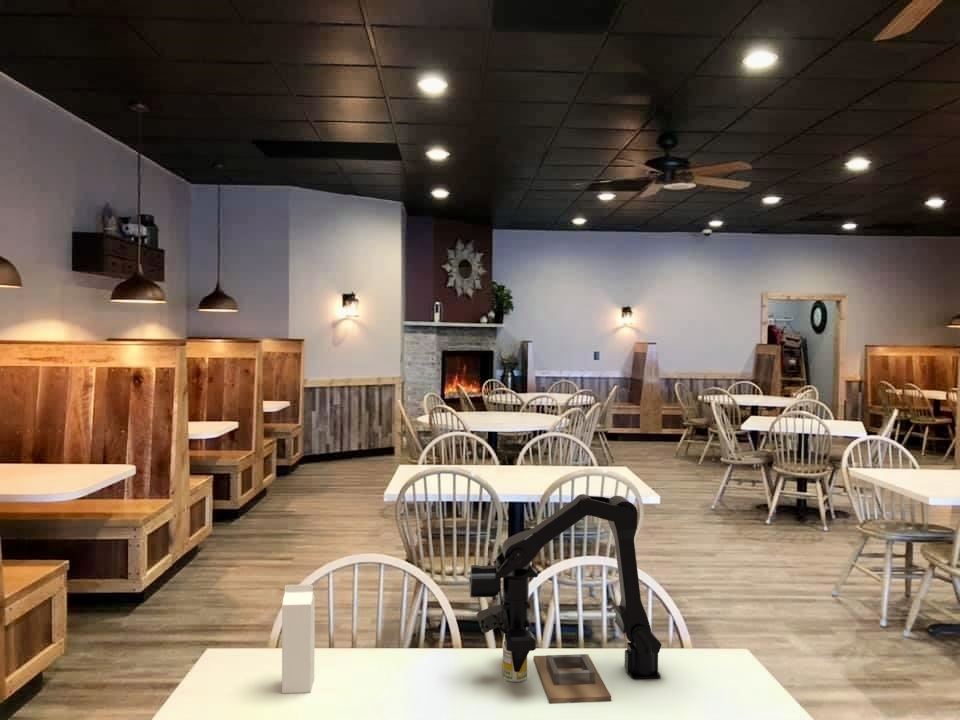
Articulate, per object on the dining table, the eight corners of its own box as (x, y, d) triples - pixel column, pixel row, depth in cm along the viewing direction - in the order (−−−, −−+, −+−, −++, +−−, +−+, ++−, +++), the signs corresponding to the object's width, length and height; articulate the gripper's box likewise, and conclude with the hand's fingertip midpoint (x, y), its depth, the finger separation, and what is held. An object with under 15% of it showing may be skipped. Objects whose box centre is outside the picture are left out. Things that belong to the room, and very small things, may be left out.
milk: (286, 680, 155) (286, 580, 155) (314, 679, 156) (314, 579, 155) (281, 694, 149) (281, 589, 149) (311, 693, 150) (311, 588, 149)
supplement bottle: (527, 672, 160) (527, 629, 160) (526, 683, 155) (527, 639, 154) (503, 670, 161) (503, 628, 160) (501, 682, 155) (502, 637, 155)
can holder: (588, 658, 167) (588, 643, 167) (611, 700, 147) (611, 684, 147) (533, 660, 166) (533, 645, 166) (549, 703, 146) (549, 686, 146)
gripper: (475, 582, 166) (475, 648, 166) (483, 612, 147) (482, 687, 148) (523, 581, 167) (522, 647, 167) (536, 611, 148) (535, 685, 149)
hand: (515, 665), depth 158 cm, fingers closed on supplement bottle, 5 cm apart
